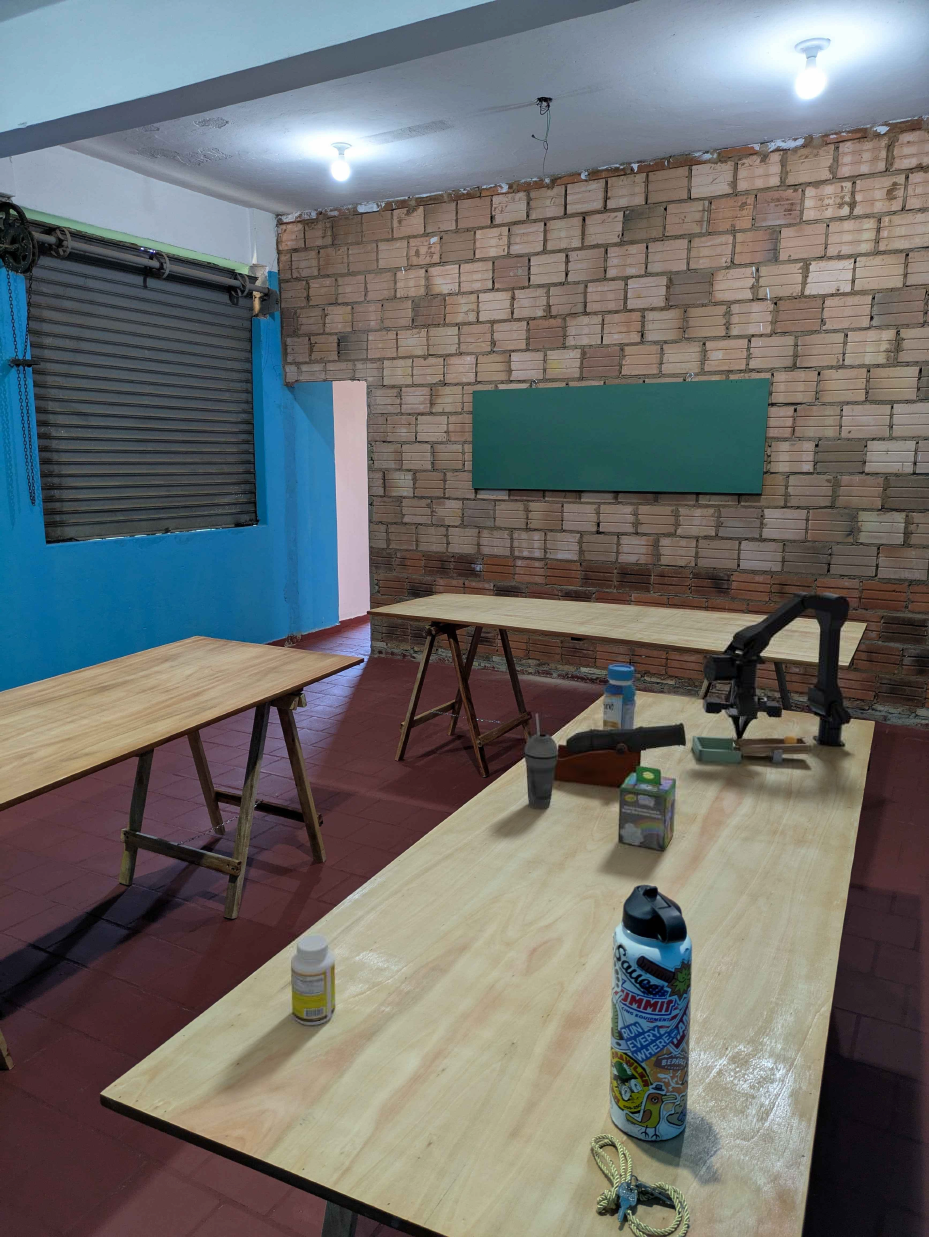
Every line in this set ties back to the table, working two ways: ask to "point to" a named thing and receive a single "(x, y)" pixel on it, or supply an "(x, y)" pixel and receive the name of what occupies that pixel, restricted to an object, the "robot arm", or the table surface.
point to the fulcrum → (776, 756)
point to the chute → (771, 746)
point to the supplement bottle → (313, 980)
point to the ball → (790, 739)
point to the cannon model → (611, 753)
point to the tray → (715, 750)
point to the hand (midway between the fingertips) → (738, 739)
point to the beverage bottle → (619, 698)
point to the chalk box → (647, 809)
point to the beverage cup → (540, 768)
